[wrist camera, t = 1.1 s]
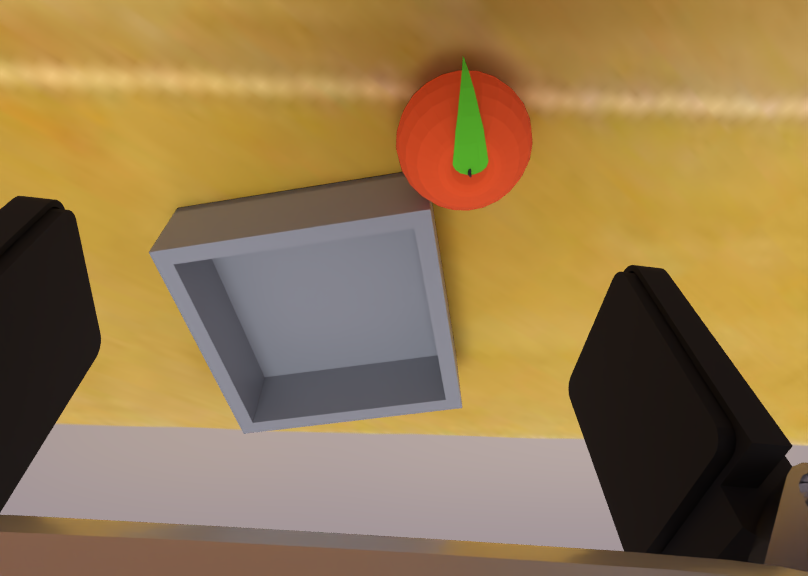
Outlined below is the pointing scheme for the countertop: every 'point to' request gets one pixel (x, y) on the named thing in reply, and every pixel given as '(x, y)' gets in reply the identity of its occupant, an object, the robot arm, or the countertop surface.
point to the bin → (316, 302)
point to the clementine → (464, 140)
